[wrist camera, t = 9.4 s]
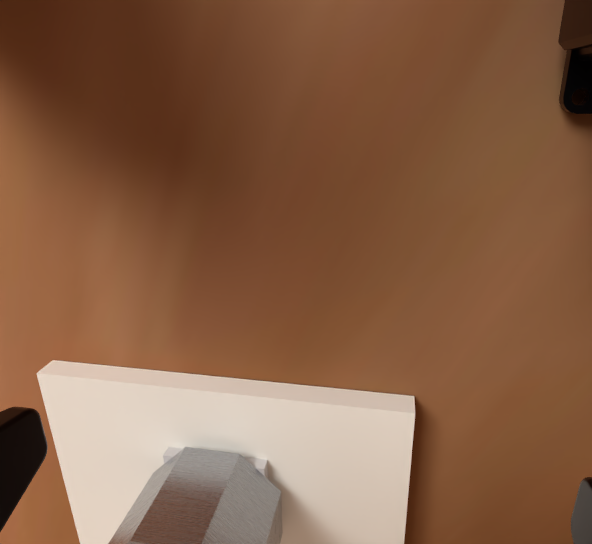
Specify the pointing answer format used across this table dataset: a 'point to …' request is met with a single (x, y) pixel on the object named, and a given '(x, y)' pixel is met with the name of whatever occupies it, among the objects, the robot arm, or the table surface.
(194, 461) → the tube
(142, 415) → the shaft stand
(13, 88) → the table surface
